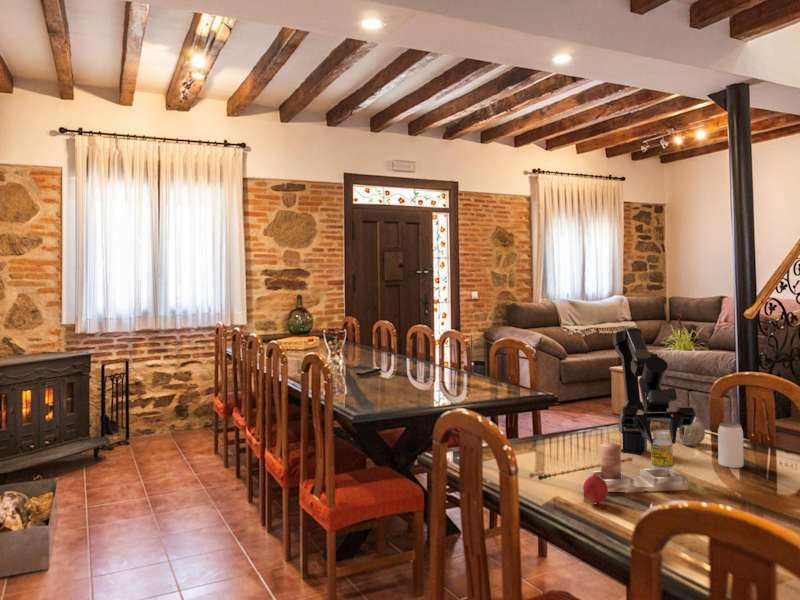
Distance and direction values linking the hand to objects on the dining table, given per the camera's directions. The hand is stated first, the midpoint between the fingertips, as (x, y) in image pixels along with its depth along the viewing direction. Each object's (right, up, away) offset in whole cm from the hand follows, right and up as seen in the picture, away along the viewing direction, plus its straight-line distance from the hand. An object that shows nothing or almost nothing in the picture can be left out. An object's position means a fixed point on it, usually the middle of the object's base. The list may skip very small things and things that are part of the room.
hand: (662, 443), depth 163 cm
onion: (-22, -13, -12) cm, 28 cm away
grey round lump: (+27, -10, +40) cm, 50 cm away
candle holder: (-7, -12, +1) cm, 13 cm away
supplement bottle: (0, -7, +2) cm, 7 cm away
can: (+27, -11, +17) cm, 34 cm away
